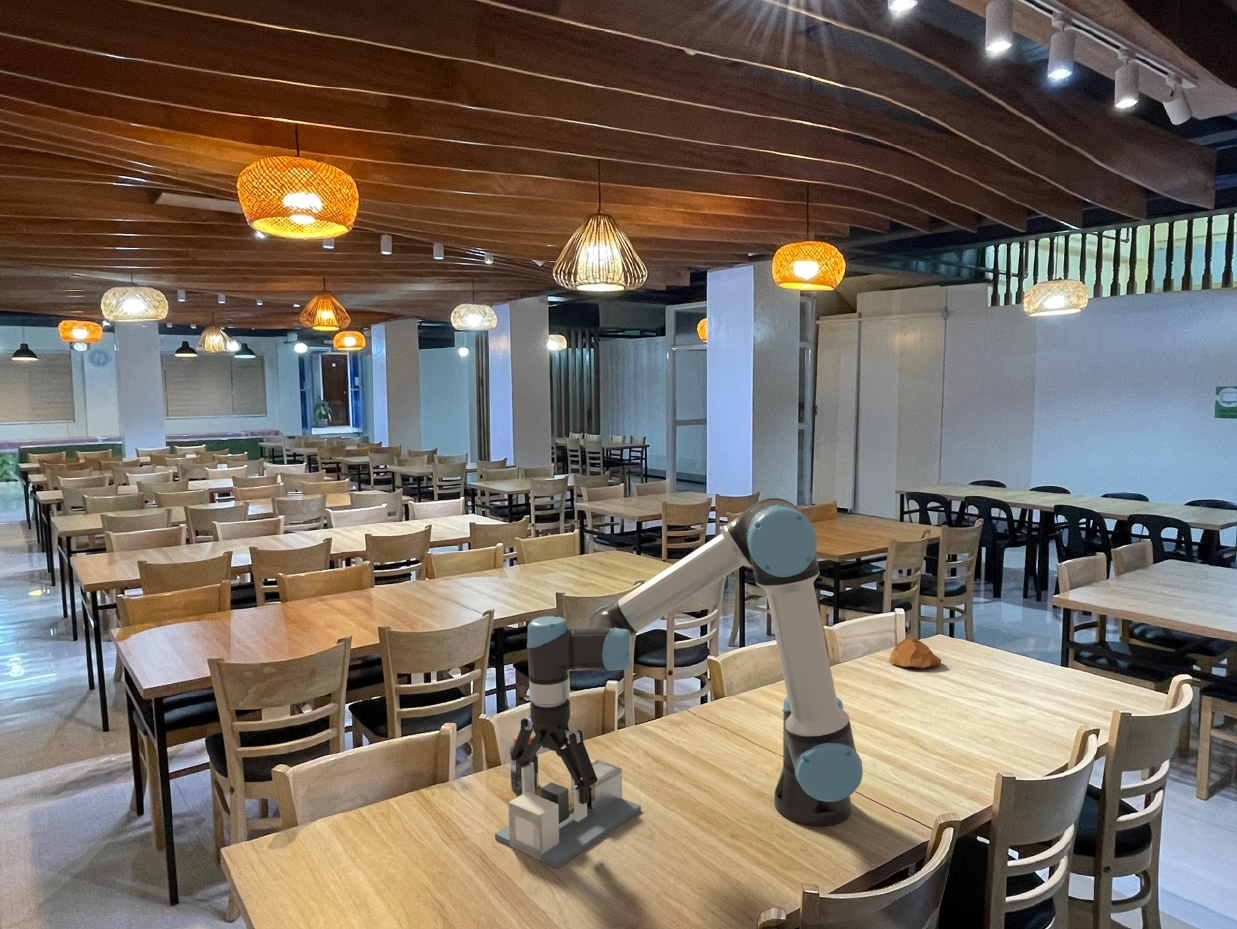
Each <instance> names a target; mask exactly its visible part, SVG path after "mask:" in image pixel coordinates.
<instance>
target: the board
mask: <svg viewBox="0 0 1237 929" xmlns="http://www.w3.org/2000/svg"><path fill="white" fill-rule="evenodd" d="M568 791H569V793H570V792H571V788H570V789H568ZM641 807H642V805H640V804H638V803H635V802H633V801H629V800H627V799H625V798H622V799H621V800H619V801H618V802H616V803H614V804H613V805H611V806H610V807H608V808H607V809H605V810H604V811H602V812H601V813H599V814H598V815H596V816H595V815H593V814H590V813H588V812H587V816H586V817H585V818H583V819H582V820H580V821H579V822H576V821H575V814H574V813H572V814H571V815H569V818H568V819H566V820H565V821H563V822H562V823H560V824H559V843H558V844H557V845H555V846H554V847H552V848H551V849H549V850H548V851H546V852H545V853H543V854H542V855H540V857H541V861H540V862H542V863H545V864H547V865H549V866H551V867H553V868H556V869H559V867H561V866H563V865H564V864H566V862H568V861H570V860H571V859H572V858H574V857H575V856H577V855H578V854H580V853H582V851H584V850H586V849H587V848H588V847H590V846H591V845H593V844H594V843H596V842H598V841H599V840H601V838H603V837H604V836H606V835H607V834H608V833H610V832H612V831H613V830H615V829H616V828H617V827H619V826H620V825H622V824H623V823H625V822H626V821H628V820H629V819H631V818H632V817H634V816H635V815H636V814H638V813H639V812H641V811H642V808H641ZM494 839H495V840H497V841H500V842H501V843H503V844H505V845H507V846H509V847H511V846H510V837H509V825H507V826H506V827H504V828H502V829H501V830H499V831H496V832H495V833H494ZM512 845H514V844H512ZM516 845H517V844H516ZM532 853H533V852H532ZM537 856H538V855H536V857H537Z"/></svg>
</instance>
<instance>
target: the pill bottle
mask: <svg viewBox="0 0 1237 929" xmlns="http://www.w3.org/2000/svg"><path fill="white" fill-rule="evenodd" d="M518 735H519V733H517V734H515V735H514V736H513V740H514V741H513V744H512V745H511V746H510V749H509V761H510V763H509V765H510V786H511V789H512V790H513V791H515V792H518V793H522V781H521V780H520V769H519V765H518V763H517V761H516V760H514V761H513V760H512V759H511V754H512V751H513V749H514V746H515V743H516V740H517V738H518ZM533 738H534V736H533V734H531V737H530V739H529V742H528V745H527V747H526V749H527V748H528V746H529V745H530V744H531V741H532V739H533ZM538 751H539V750H538ZM538 751H537V753H536V754H535V755H534V757H533V758H532V759H531V760H532V761H530V762H529V763H534V782H535V790H536V789H537V788H538V786H539V785H540V784H539V781H540V780H539V753H538Z"/></svg>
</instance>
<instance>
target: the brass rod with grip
mask: <svg viewBox="0 0 1237 929" xmlns="http://www.w3.org/2000/svg"><path fill="white" fill-rule="evenodd" d="M568 790H569V788H568V787H565V786H562V785H560V784H558V783H555V782H553V781H552V782H551V781H550V782H549V783H547V784H545V785H544V786H542V787H541V788H540V797H542V798H544V799H547V800H549V801H551V802H554V803H556V804H558V812H559V824H560V823H562V822H563V821H565V820H566V819H568V818H569V815H571V814H572V813H574V790H573V791H571V792H570V793H569V791H568ZM591 801H592V799H591V787H589V801H588V802H587V804H588V803H590V802H591Z"/></svg>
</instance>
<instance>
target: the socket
mask: <svg viewBox="0 0 1237 929" xmlns="http://www.w3.org/2000/svg"><path fill="white" fill-rule="evenodd" d="M508 826H509V837H510V846H509V847H511V848H514V849H515V850H518V851H520V852H522V853H525V854H526V855H528V856H530V857H532V858H535V859H536V860H538V861H540V862H542V861H541V857H540V855H542V854H543V853H545V852H546V851H548V850H549V849H551V848H552V847H554V846H555V845H557V844H558V843H559V812H558V804H556V803H554V802H551V801H549V800H547V799H544V798H542V797H541V796H539V795H537V794H535V795H534V794H532V793H530V792H526V793H524V794H522V793H521V794H520V795H519V796H517V797H516V798H513V799H512V800H509V801H508ZM512 844H514V845H512ZM516 844H517V845H516ZM532 852H533V853H532ZM536 855H538V856H537V857H536Z"/></svg>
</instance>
